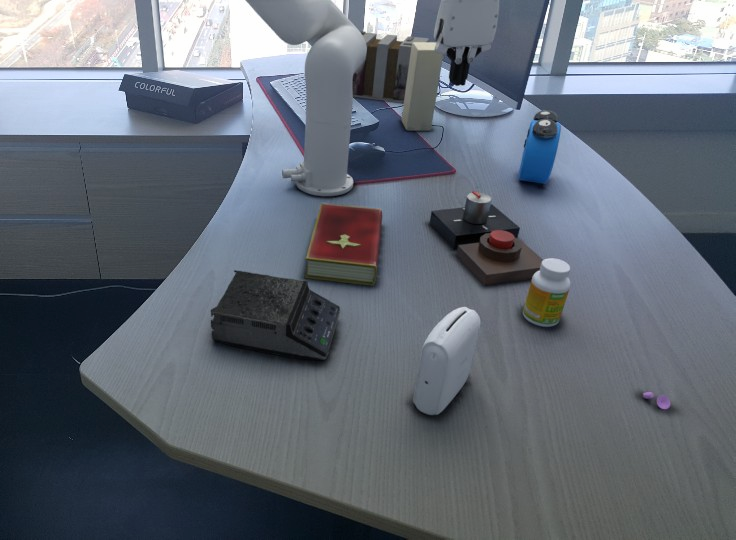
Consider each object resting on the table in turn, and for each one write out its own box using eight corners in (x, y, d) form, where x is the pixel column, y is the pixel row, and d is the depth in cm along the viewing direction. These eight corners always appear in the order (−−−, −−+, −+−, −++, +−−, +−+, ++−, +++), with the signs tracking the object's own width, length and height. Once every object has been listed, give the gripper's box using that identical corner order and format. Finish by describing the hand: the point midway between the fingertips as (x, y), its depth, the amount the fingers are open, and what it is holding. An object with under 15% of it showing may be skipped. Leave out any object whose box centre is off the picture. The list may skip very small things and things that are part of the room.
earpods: (659, 412, 85) (664, 400, 85) (667, 412, 83) (672, 400, 83) (638, 399, 85) (644, 388, 85) (646, 399, 83) (651, 387, 84)
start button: (496, 251, 110) (498, 242, 109) (484, 239, 113) (485, 231, 112) (516, 248, 110) (519, 239, 109) (504, 237, 114) (506, 228, 113)
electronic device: (326, 365, 90) (329, 331, 87) (210, 343, 94) (209, 310, 91) (340, 316, 100) (343, 284, 96) (234, 298, 104) (234, 267, 100)
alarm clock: (545, 194, 137) (563, 127, 128) (515, 189, 139) (531, 123, 130) (546, 171, 147) (563, 107, 139) (518, 167, 149) (533, 104, 141)
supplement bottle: (541, 331, 97) (558, 278, 91) (514, 313, 101) (528, 260, 95) (566, 321, 99) (584, 269, 94) (539, 303, 103) (554, 252, 98)
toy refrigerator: (434, 131, 169) (447, 49, 157) (406, 131, 169) (417, 49, 157) (427, 120, 175) (439, 41, 164) (401, 120, 175) (411, 41, 164)
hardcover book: (381, 226, 124) (383, 207, 122) (375, 286, 107) (378, 264, 105) (320, 220, 126) (321, 201, 124) (304, 277, 109) (305, 256, 107)
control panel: (453, 249, 117) (456, 234, 115) (429, 224, 125) (431, 209, 124) (516, 241, 120) (520, 227, 118) (488, 217, 128) (492, 203, 126)
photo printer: (437, 421, 81) (453, 346, 74) (407, 406, 83) (420, 331, 77) (471, 379, 88) (489, 307, 81) (442, 366, 90) (458, 294, 83)
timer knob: (491, 223, 119) (496, 200, 117) (469, 225, 119) (474, 202, 116) (479, 212, 123) (484, 189, 120) (458, 214, 122) (463, 192, 120)
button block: (484, 285, 107) (488, 265, 105) (455, 255, 115) (459, 236, 113) (547, 277, 109) (553, 257, 107) (515, 248, 118) (520, 229, 115)
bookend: (349, 80, 207) (353, 28, 198) (427, 89, 199) (434, 35, 190) (335, 94, 195) (339, 39, 186) (417, 104, 187) (425, 48, 178)
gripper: (502, -28, 114) (482, 75, 124) (425, -25, 111) (411, 80, 121) (526, -22, 108) (503, 86, 118) (445, -18, 105) (428, 92, 115)
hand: (456, 83), depth 119 cm, fingers closed
